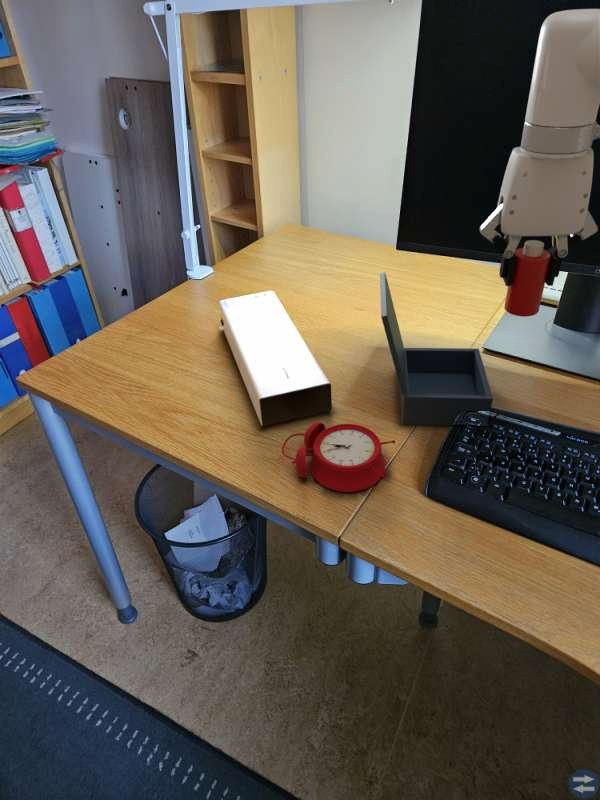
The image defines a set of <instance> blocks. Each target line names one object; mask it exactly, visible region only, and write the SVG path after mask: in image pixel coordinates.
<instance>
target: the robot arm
mask: <svg viewBox="0 0 600 800" xmlns="http://www.w3.org/2000/svg"><path fill="white" fill-rule="evenodd" d="M599 108H600V8H578V9H566V10H560V11H555V12H553V13H551V14H549V15H548V16H547V17H546V18H545V19H544V21H543V22H542V25H541V26H540V32H539V36H538V42H537V47H536V53H535V59H534V64H533V71H532V77H531V83H530V89H529V94H528V101H527V106H526V112H525V118H524V124H523V130H522V136H521V142H520V146H517V147H514V148H513V149H512V151H511V154H510V156H509V159H508V162H507V165H506V169H505V171H504V176H503V179H502V184H501V187H500V192H499V196H498V201H497V204H496V205H497V206H496V209H495V210H493V212H492V213H491V214H490V215H489V216H488V217H487V218H486V220H485V221H484V222H483V223H482V224H481V225H480V226H479V229H478V230H479V233H480V234H481V236H483V237H484V238H485V239H487V240H488V241H489V242H490V243H492V245H494V247H496V249H497V250H498V251H499V252H500V253H501V261H500V265H499V266H500V267H499V278H500V279H502V280H503V282H504V285H505V287H508V286H511V285H512V283H513V278H514V272H515V267H516V262H517V259H516V257H515V251H516V250H517V249H518V246H519V243H520V242H521V239H522V237H551V243H552V244H551V245H552V246H551V248H548V250H547V251H548V252H549V253H550V254H551V258H550V263H549V267H548V272H547V276H546V281H545V285H547V286H549V287H553V286H554V284H555V278H558V277H559V275H560V271H561V267H562V263H563V259H564V258H565V257H567V255H569V252H570V251H571V250H573V249H574V248H575V247H577V246H578V245H580V244H581V242H582V241H583V240H586V239H587V238H590V237H592V235H594V234H596V233H597V232H598V230H599V227H598V225H597V224H596V221H595V220H594V218H593V216H592V215H591V212H590V211H589V203H590V198H591V192H592V183H593V174H594V173H593V172H594V159H595V157H594V155H595V154H594V149H592V145H593V142H594V141H595V140H597V139H600V124H598V122H597V121H596V120H597V117H598V116H597V115H598V112H599ZM499 225H500V231H501V233H502V234H504V237H503V235H502V234H501V233H499V232H498V231H496V228H497V227H498V226H499Z"/></svg>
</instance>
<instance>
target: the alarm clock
mask: <svg viewBox="0 0 600 800" xmlns="http://www.w3.org/2000/svg"><path fill="white" fill-rule="evenodd" d="M296 436H303V443H304V446H300V447H298V449H297V450H296V453H295V457H293V456H289V455H287V454H286V452H285V450H284V449H285V446H286V444H287V443H288V441H289V440H290V439H292V438H293V437H296ZM395 443H396V440H395V439H392V440H389V441H380V439H379V437H378V435H377V434H376V433H375V432H373V430H371V429H370V428H368V427H365V426H364V425H360V424H356V423H355V424H354V423H340V424H334V425H332V426H329V427H327V428H326V425H325V423H324V422H321V421H316V422H313V423H312V424H310V425H309V426H308V428H307V429H306V430H305V433H303V432H301V433H294V434H291V435H290V436H288V437H287V438H286V439H285V440H284V442H283V444H282V446H281V453H282V455H283V457H286V458H287V459H290V460H292V461H291V464H295V467H296V471H297V474H298V476H299V478H302V479H307V478H308V469H307V468H308V467H307V457H310V461H309V466H310V472H311V474H312V476H313V478H314V479H315V480H316V482H318V483H319V484H320V485H322V486H323V487H325V488H327V489H330V490H333V491H336V492H341V493H342V492H343V493H354V492H355V493H356V492H360V491H364V490H366V489H369V488H371V487H373V486H374V485H375V484H377V483H378V482H379V481H380V480H381V479H385V478H386V475H387V474H388V473H387V472H388V469H387V468H386V461H385V457H384V455H383V453H382V446H383V445H388V444H395ZM306 451H312V452H313V453H310V454H309V453H308V454H306Z"/></svg>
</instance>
